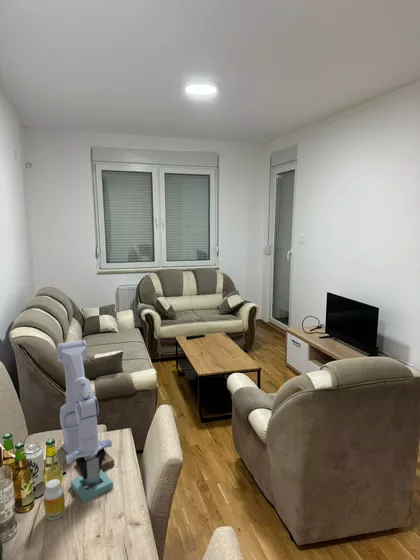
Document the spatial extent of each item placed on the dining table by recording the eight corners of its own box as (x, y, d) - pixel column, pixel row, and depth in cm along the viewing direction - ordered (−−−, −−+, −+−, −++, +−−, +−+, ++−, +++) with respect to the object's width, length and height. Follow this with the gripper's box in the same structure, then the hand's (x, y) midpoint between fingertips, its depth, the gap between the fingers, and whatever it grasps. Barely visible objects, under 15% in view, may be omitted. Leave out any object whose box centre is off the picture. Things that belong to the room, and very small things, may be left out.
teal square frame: (70, 486, 124) (70, 480, 123) (99, 473, 130) (99, 468, 130) (83, 502, 116) (82, 496, 116) (113, 487, 123) (112, 482, 122)
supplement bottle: (65, 517, 110) (62, 486, 109) (45, 522, 108) (42, 491, 107) (65, 505, 115) (62, 475, 114) (45, 510, 113) (43, 480, 112)
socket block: (76, 463, 136) (75, 458, 136) (102, 453, 142) (102, 448, 142) (87, 477, 128) (87, 471, 128) (114, 464, 135) (114, 459, 135)
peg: (83, 482, 123) (81, 456, 122) (95, 477, 126) (93, 452, 125) (88, 488, 120) (86, 462, 119) (100, 483, 123) (98, 457, 122)
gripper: (70, 449, 113) (73, 490, 115) (115, 431, 123) (117, 470, 124) (62, 439, 119) (65, 479, 120) (105, 424, 128) (107, 461, 130)
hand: (91, 474), depth 123 cm, fingers closed on peg, 4 cm apart
